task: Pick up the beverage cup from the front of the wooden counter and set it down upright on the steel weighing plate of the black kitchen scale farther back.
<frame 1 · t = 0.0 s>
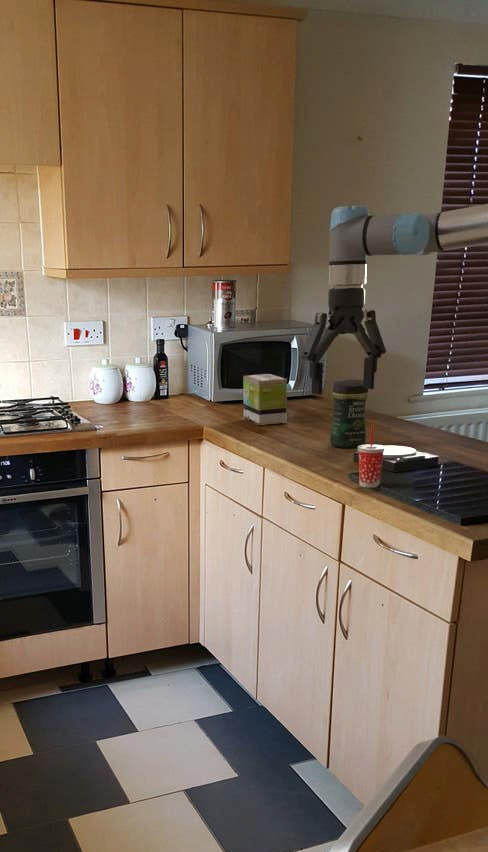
hand: (342, 391, 188), 23 cm above the countertop, tool pointing down, fingers open, 13 cm apart
coffee jar: (348, 446, 248), on the countertop
tea box: (264, 422, 291), on the countertop
kitchen scale: (394, 463, 223), on the countertop
beverage cup: (369, 486, 202), on the countertop
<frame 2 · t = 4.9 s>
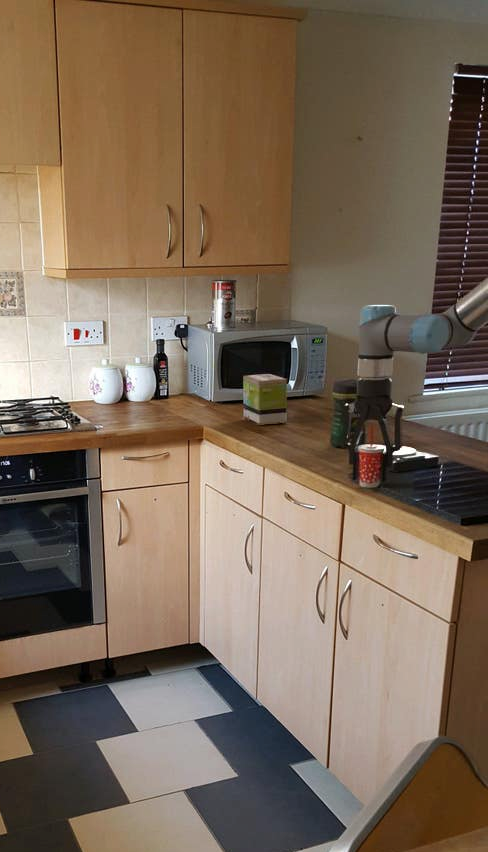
hand: (369, 479, 202), 1 cm above the countertop, tool pointing down, fingers closed on beverage cup, 6 cm apart
beverage cup: (369, 486, 202), on the countertop, touching gripper
everything else where it was.
when the fingers open (5 cm above the countertop, at t = 13.8 s): beverage cup stays where it is, resting on kitchen scale.
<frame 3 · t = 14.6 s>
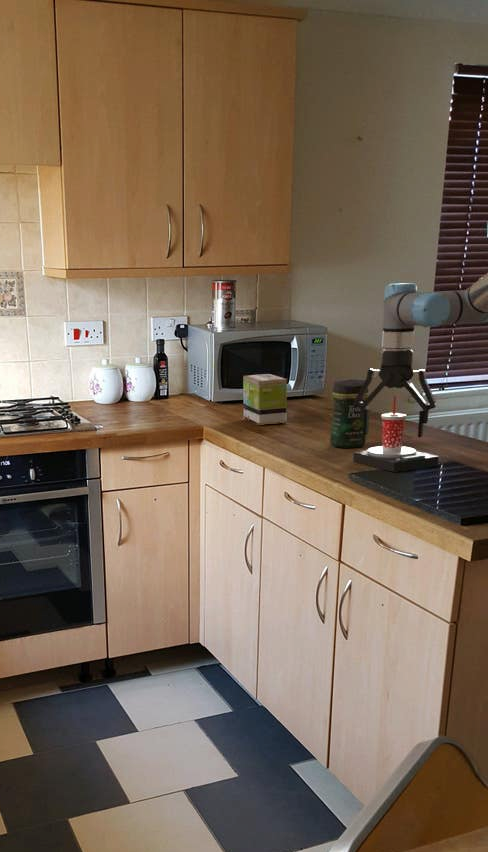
hand: (392, 435, 222), 7 cm above the countertop, tool pointing down, fingers open, 13 cm apart
beverage cup: (391, 450, 224), point 3 cm above the countertop, touching kitchen scale
everything else where it was.
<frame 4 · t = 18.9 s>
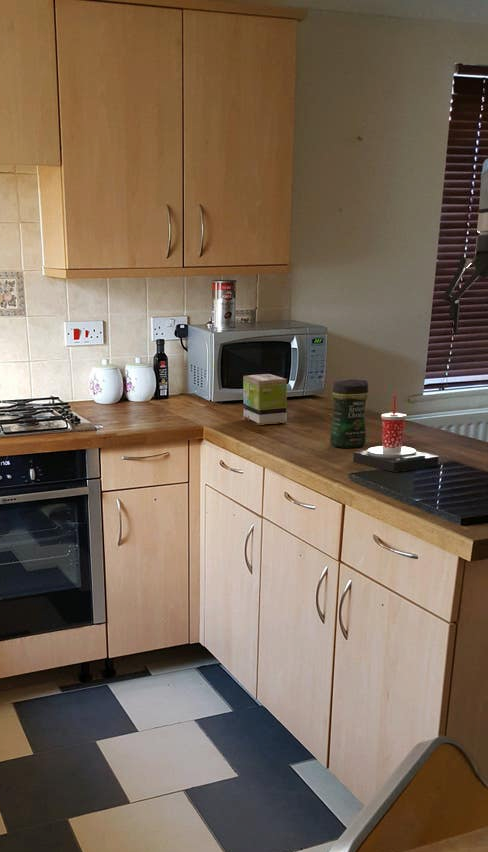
hand: (485, 332, 202), 33 cm above the countertop, tool pointing down, fingers open, 13 cm apart
nothing on the countertop moved.
at the end: beverage cup inside the target area on the kitchen scale (0.0 cm from its centre), point 3.1 cm above the kitchen scale's base; beverage cup tilted 0°; the gripper is holding nothing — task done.
